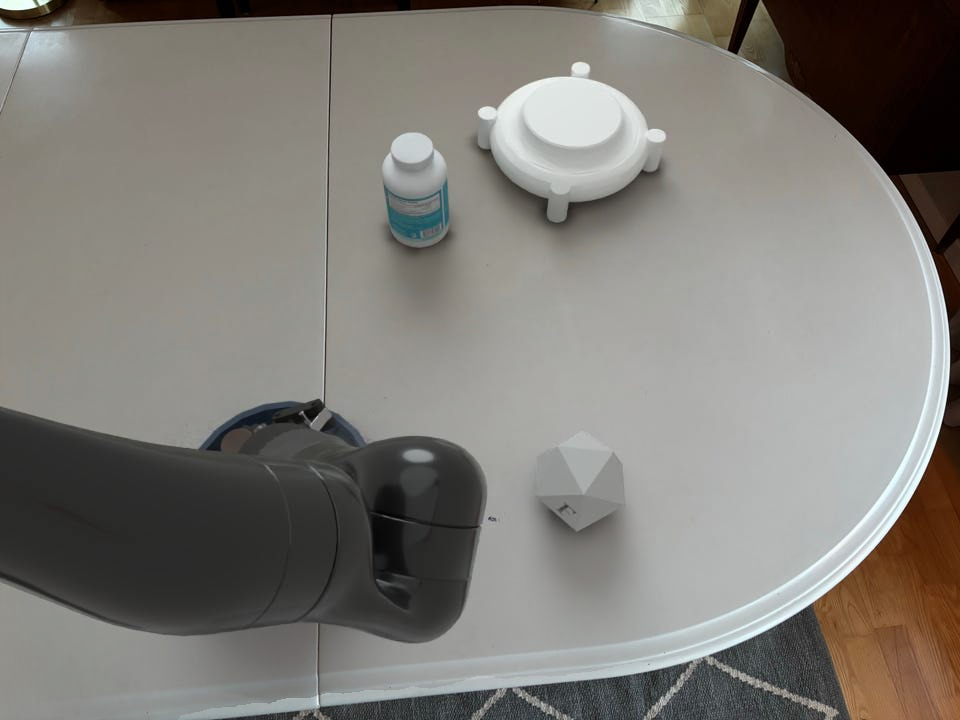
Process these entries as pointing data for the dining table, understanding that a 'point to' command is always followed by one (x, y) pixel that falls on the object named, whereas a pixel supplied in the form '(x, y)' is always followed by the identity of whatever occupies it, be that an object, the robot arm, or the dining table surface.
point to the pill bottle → (416, 191)
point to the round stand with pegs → (569, 139)
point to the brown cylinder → (234, 440)
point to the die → (580, 480)
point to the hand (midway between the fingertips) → (234, 449)
